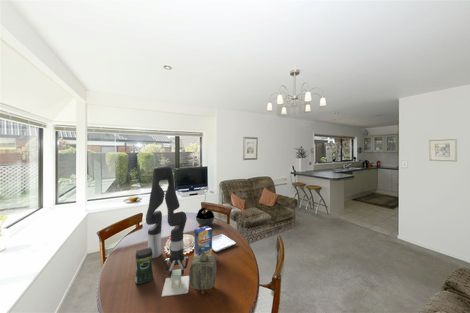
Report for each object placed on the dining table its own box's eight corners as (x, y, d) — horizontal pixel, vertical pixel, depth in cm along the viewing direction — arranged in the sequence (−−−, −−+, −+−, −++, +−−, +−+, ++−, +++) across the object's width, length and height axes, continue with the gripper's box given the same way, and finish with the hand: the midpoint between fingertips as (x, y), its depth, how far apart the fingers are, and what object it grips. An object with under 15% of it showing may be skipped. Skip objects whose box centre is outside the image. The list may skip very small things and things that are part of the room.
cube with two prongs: (172, 281, 107) (172, 269, 107) (181, 280, 108) (181, 268, 108) (170, 288, 102) (171, 275, 102) (180, 286, 103) (181, 274, 103)
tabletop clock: (216, 285, 106) (216, 242, 106) (215, 297, 97) (215, 251, 97) (191, 285, 105) (192, 243, 105) (188, 297, 96) (188, 251, 96)
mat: (165, 279, 110) (165, 278, 110) (189, 276, 113) (189, 275, 113) (161, 296, 97) (161, 296, 97) (188, 293, 99) (188, 292, 99)
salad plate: (215, 255, 138) (215, 250, 138) (201, 244, 155) (201, 240, 155) (236, 246, 152) (236, 242, 152) (222, 237, 168) (222, 233, 168)
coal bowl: (194, 223, 201) (195, 206, 200) (212, 221, 207) (212, 205, 206) (196, 230, 182) (196, 211, 181) (216, 228, 188) (216, 210, 187)
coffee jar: (151, 273, 116) (152, 244, 115) (153, 280, 109) (153, 250, 109) (134, 278, 110) (134, 248, 110) (135, 286, 104) (135, 254, 104)
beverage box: (211, 258, 133) (212, 228, 133) (198, 263, 126) (198, 232, 126) (207, 253, 139) (207, 225, 138) (194, 259, 132) (194, 229, 132)
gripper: (189, 242, 110) (189, 270, 110) (165, 244, 107) (164, 273, 107) (189, 249, 102) (188, 278, 103) (162, 251, 100) (162, 281, 100)
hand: (176, 275), depth 105 cm, fingers closed on cube with two prongs, 5 cm apart
